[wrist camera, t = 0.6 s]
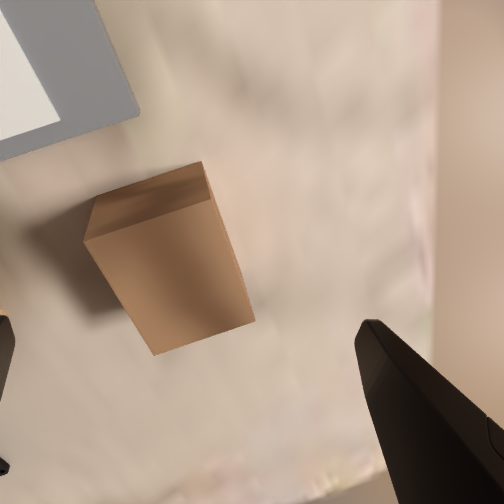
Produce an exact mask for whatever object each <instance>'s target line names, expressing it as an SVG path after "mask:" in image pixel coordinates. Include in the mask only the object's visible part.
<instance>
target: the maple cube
mask: <svg viewBox="0 0 504 504" xmlns="http://www.w3.org/2000/svg"><path fill="white" fill-rule="evenodd" d="M0 315H6V316H7V317H8V315H7V314H6V313H5V312H4V310H3V309H2V308H1V307H0Z"/></svg>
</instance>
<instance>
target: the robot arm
mask: <svg viewBox="0 0 504 504" xmlns="http://www.w3.org/2000/svg"><path fill="white" fill-rule="evenodd" d="M354 344H355V351H356V356H357V361H358V366H359V371H360V375H361V380H362V385H363V390H364V394H365V399H366V402H367V405H368V409H369V412H370V415H371V418H372V421H373V424H374V427H375V431H376V434H377V437H378V440H379V443H380V446H381V449H382V453H383V456H384V459H385V462H386V465H387V468H388V471H389V474H390V477H391V481H392V484H393V487H394V490H395V493H396V496H397V500H398V503H399V504H504V430H503V429H502V428H501V427H500V426H499V425H498V424H497V423H495V422H494V421H493V420H492V419H491V418H490V417H487V415H486V414H485V413H484V412H483V411H482V410H481V409H480V408H478V407H477V406H476V405H475V404H474V403H473V402H471V400H469V399H468V398H467V397H466V396H465V395H464V394H462V393H461V392H460V391H459V390H458V389H457V388H456V387H455V386H454V385H452V384H451V383H450V382H449V381H448V380H447V379H446V378H445V377H443V376H442V375H441V374H440V373H439V372H438V371H437V370H436V369H435V368H433V367H432V366H431V365H430V364H429V363H428V362H427V361H426V360H424V359H423V358H422V357H421V356H420V355H419V354H418V353H417V352H415V351H414V350H413V349H412V348H411V347H410V346H409V345H408V344H406V343H405V342H404V341H403V340H402V339H401V338H400V337H399V336H397V335H396V334H395V333H394V332H393V331H392V330H391V329H390V328H388V327H387V326H386V325H385V324H384V323H383V322H382V321H380V320H378V319H366V320H364V321H363V322H362V324H361V327H360V329H359V331H358V333H357V335H356V338H355V343H354ZM14 347H15V336H14V333H13V330H12V327H11V324H10V321H9V318H8V317H7V316H6V315H0V401H1V397H2V394H3V390H4V386H5V382H6V378H7V374H8V371H9V367H10V363H11V359H12V355H13V351H14ZM9 468H10V465H9V464H8V463H6V462H5V461H4V460H3V459H1V458H0V476H2V475H5V474H7V473H8V472H9Z"/></svg>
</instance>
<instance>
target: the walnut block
mask: <svg viewBox="0 0 504 504" xmlns="http://www.w3.org/2000/svg"><path fill="white" fill-rule="evenodd" d="M83 243H84V245H85V246H86V248H87V249H88V251H89V253H90V254H91V256H92V257H93V259H94V261H95V262H96V264H97V265H98V267H99V269H100V270H101V272H102V273H103V275H104V277H105V278H106V280H107V281H108V283H109V285H110V286H111V288H112V289H113V291H114V293H115V294H116V296H117V298H118V299H119V301H120V302H121V304H122V306H123V307H124V309H125V310H126V312H127V314H128V315H129V317H130V318H131V320H132V322H133V323H134V325H135V326H136V328H137V330H138V331H139V333H140V334H141V336H142V338H143V339H144V341H145V342H146V344H147V346H148V347H149V349H150V350H151V352H152V354H153V355H154V356H155V355H158V354H161V353H163V352H166V351H169V350H172V349H175V348H178V347H181V346H184V345H187V344H190V343H193V342H196V341H199V340H202V339H205V338H208V337H211V336H214V335H216V334H219V333H222V332H225V331H228V330H231V329H234V328H237V327H240V326H243V325H246V324H249V323H252V322H255V317H254V314H253V311H252V307H251V304H250V301H249V297H248V294H247V291H246V287H245V284H244V281H243V277H242V274H241V271H240V268H239V265H238V262H237V259H236V257H235V254H234V251H233V248H232V245H231V243H230V240H229V237H228V234H227V231H226V229H225V226H224V223H223V220H222V217H221V215H220V212H219V209H218V206H217V203H216V201H215V198H214V195H213V192H212V189H211V187H210V184H209V181H208V178H207V175H206V173H205V170H204V167H203V164H202V161H201V162H198V163H194V164H191V165H188V166H185V167H182V168H179V169H176V170H173V171H170V172H167V173H164V174H161V175H158V176H155V177H152V178H149V179H146V180H143V181H140V182H137V183H134V184H131V185H128V186H125V187H122V188H119V189H116V190H113V191H110V192H107V193H104V194H101V195H98V196H96V199H95V203H94V206H93V209H92V213H91V216H90V219H89V223H88V226H87V229H86V233H85V236H84V239H83Z"/></svg>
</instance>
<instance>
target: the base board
mask: <svg viewBox="0 0 504 504" xmlns="http://www.w3.org/2000/svg"><path fill="white" fill-rule="evenodd" d="M139 113H140V109H139V107H138V105H137V102H136V100H135V97H134V95H133V93H132V90H131V88H130V86H129V83H128V81H127V78H126V76H125V74H124V71H123V69H122V67H121V64H120V62H119V60H118V57H117V55H116V52H115V50H114V48H113V45H112V43H111V41H110V38H109V36H108V33H107V31H106V29H105V26H104V24H103V22H102V19H101V17H100V15H99V12H98V10H97V7H96V5H95V3H94V0H0V161H3V160H6V159H9V158H12V157H15V156H18V155H21V154H24V153H27V152H30V151H33V150H36V149H39V148H42V147H46V146H49V145H52V144H55V143H58V142H61V141H64V140H67V139H70V138H73V137H76V136H79V135H82V134H85V133H88V132H91V131H94V130H97V129H100V128H103V127H106V126H109V125H112V124H115V123H118V122H121V121H124V120H127V119H130V118H133V117H136V116H139Z"/></svg>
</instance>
